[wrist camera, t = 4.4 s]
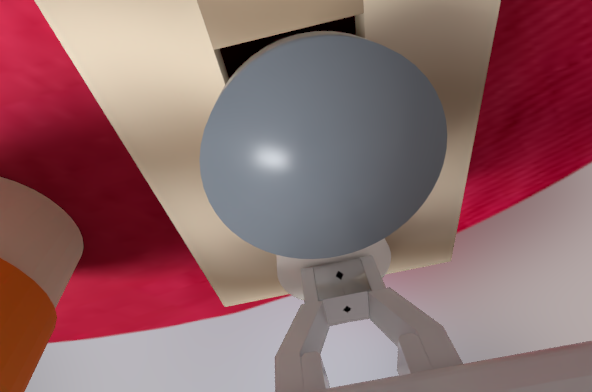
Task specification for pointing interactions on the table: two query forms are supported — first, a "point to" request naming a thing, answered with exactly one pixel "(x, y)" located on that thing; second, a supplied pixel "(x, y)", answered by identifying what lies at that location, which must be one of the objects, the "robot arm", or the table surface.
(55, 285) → the reusable coffee cup
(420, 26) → the wooden peg holder
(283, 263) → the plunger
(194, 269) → the table surface
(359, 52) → the plunger middle
